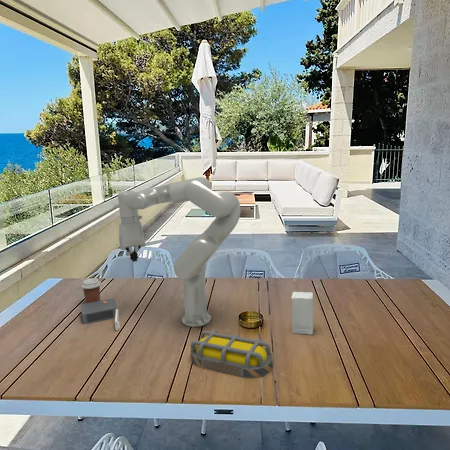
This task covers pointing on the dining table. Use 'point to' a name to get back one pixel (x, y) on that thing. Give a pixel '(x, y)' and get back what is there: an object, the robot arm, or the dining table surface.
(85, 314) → the gray button box
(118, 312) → the light grey flat bar
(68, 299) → the dining table surface
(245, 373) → the cage light
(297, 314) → the skincare box
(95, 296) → the coffee cup
